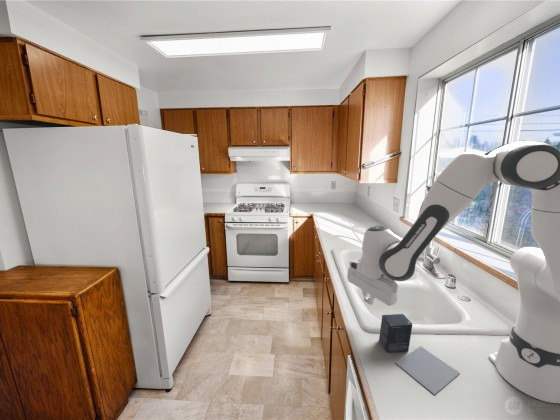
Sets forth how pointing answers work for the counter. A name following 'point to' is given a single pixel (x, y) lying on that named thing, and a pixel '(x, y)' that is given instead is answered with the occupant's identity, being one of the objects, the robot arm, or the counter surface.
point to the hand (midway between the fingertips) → (368, 302)
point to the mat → (427, 369)
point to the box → (395, 332)
